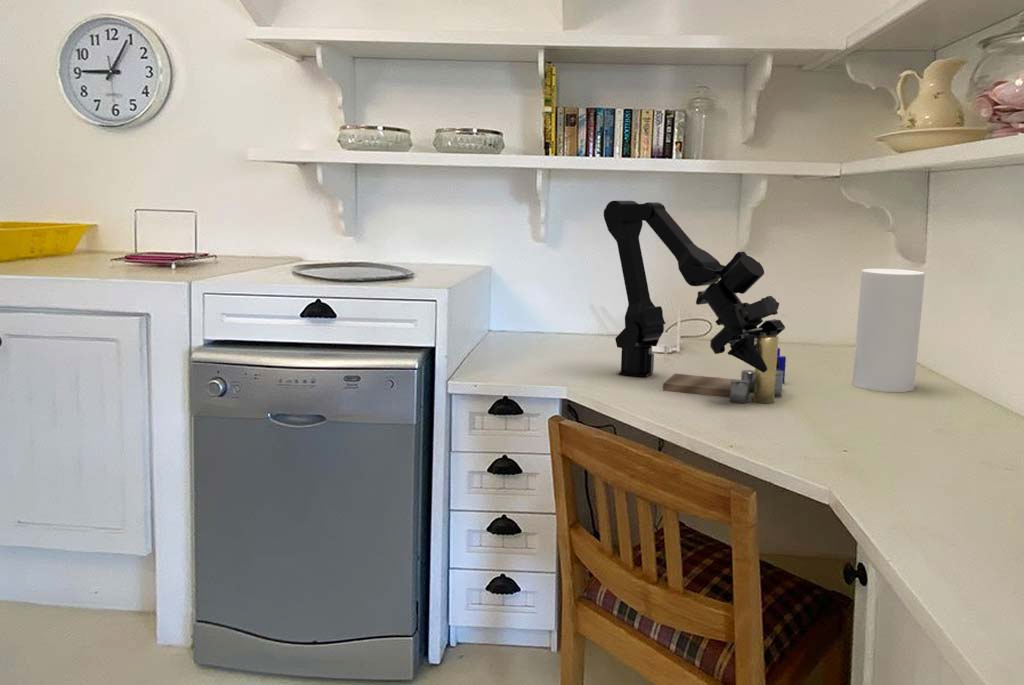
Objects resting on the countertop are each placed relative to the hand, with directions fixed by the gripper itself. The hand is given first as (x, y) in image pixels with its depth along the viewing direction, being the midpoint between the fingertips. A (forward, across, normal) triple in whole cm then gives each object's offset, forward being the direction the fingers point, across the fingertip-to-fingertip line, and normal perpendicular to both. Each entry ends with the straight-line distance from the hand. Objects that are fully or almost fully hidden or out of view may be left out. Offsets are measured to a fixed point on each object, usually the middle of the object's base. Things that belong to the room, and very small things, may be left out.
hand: (771, 369), depth 182 cm
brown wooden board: (-7, 0, +16) cm, 17 cm away
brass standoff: (+4, 0, +6) cm, 7 cm away
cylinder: (+10, +34, 0) cm, 35 cm away
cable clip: (-4, +21, +14) cm, 26 cm away
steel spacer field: (+1, +3, +8) cm, 9 cm away
